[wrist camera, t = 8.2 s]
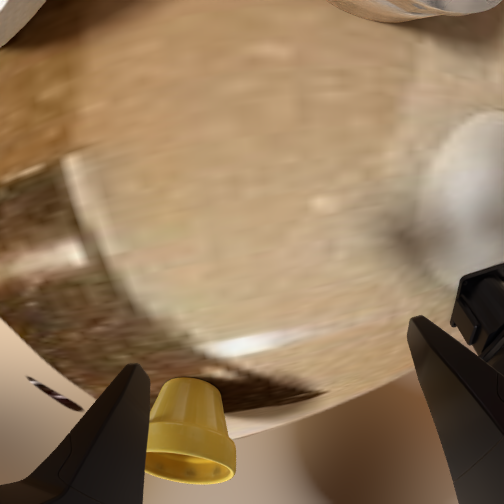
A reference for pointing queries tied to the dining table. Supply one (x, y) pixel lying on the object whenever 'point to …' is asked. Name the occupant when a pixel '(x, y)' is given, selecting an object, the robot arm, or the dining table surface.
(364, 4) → the pot
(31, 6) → the cereal bowl
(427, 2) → the lid
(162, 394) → the plant pot
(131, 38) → the dining table surface
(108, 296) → the dining table surface
